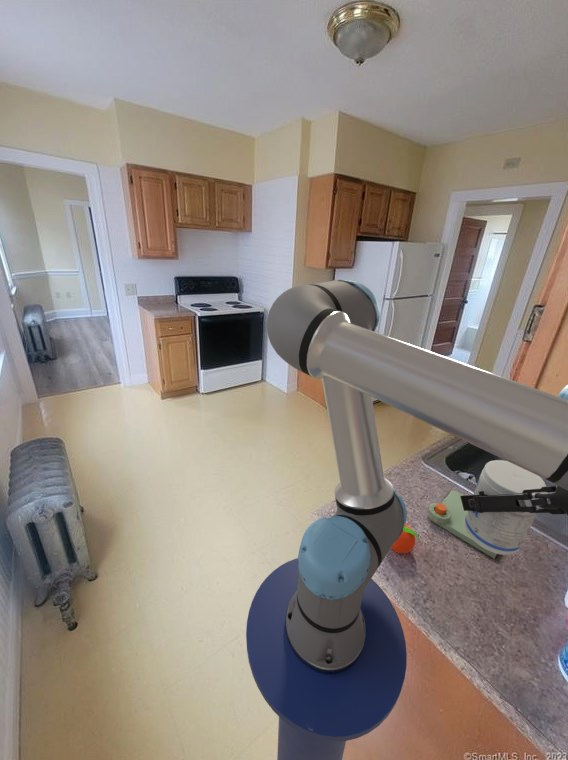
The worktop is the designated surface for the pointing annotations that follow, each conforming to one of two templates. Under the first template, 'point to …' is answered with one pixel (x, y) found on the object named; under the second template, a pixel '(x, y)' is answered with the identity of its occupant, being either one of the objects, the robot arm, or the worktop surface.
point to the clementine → (405, 541)
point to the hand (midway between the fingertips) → (487, 500)
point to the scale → (455, 519)
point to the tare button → (440, 509)
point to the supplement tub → (502, 527)
